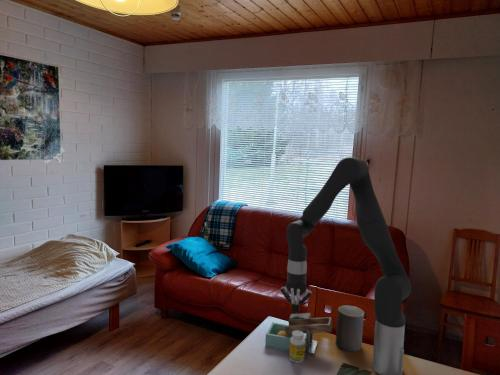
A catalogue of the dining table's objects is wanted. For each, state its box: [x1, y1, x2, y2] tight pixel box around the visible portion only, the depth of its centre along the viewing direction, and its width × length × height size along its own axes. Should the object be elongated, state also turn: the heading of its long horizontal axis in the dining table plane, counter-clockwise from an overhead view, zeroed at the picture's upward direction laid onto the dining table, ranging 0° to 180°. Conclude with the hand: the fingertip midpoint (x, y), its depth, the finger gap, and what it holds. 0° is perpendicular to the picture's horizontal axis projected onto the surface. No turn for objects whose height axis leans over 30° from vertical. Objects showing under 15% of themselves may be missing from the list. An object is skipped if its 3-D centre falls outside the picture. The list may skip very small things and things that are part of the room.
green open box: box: [264, 322, 292, 353], centre depth 139 cm, size 10×10×5 cm
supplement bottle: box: [288, 330, 306, 364], centre depth 129 cm, size 5×5×10 cm
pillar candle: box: [334, 304, 365, 352], centre depth 139 cm, size 10×10×15 cm
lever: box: [285, 312, 334, 334], centre depth 140 cm, size 18×15×3 cm
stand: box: [304, 329, 318, 357], centre depth 136 cm, size 5×9×9 cm, turn 162°
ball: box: [277, 331, 288, 337], centre depth 139 cm, size 4×4×4 cm
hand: (295, 312), depth 147 cm, fingers closed
